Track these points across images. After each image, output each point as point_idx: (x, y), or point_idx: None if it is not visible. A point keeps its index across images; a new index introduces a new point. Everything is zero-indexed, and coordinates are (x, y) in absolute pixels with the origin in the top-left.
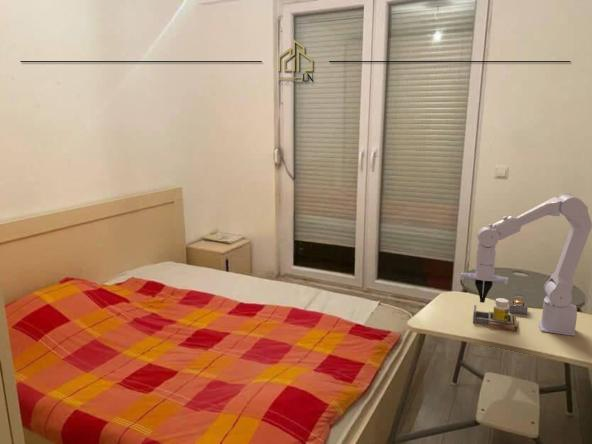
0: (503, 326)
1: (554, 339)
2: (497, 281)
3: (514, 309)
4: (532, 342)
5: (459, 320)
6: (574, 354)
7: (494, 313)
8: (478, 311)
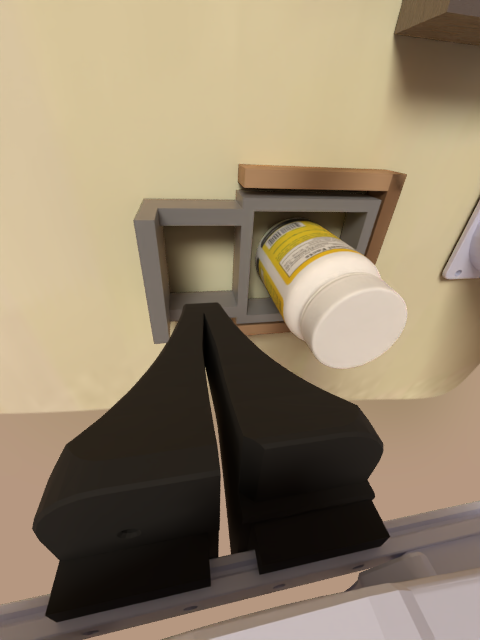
0: None
1: (446, 320)
2: (440, 549)
3: (453, 26)
4: (362, 365)
5: (83, 293)
6: (441, 382)
7: (274, 302)
8: (174, 216)
